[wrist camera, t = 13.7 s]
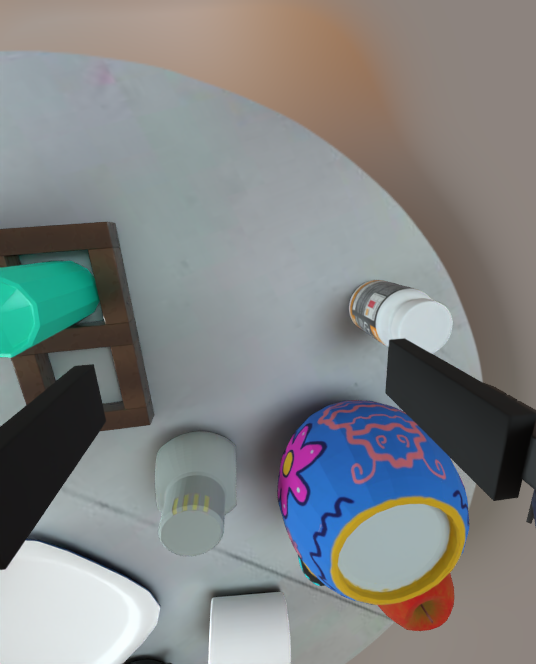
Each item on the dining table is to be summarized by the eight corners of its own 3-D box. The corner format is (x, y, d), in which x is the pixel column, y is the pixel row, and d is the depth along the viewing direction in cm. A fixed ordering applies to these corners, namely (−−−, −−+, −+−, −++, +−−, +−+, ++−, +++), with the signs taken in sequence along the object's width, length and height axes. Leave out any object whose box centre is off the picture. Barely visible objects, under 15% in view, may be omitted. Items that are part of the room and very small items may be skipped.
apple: (341, 562, 45) (373, 655, 35) (361, 502, 43) (402, 585, 32) (408, 565, 47) (457, 654, 37) (432, 507, 44) (492, 587, 34)
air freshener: (162, 421, 36) (137, 487, 26) (235, 418, 37) (237, 481, 27) (168, 498, 39) (148, 583, 29) (235, 494, 40) (237, 574, 30)
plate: (-100, 639, 40) (-114, 656, 39) (7, 508, 37) (-4, 521, 35) (80, 697, 47) (74, 713, 45) (184, 591, 44) (182, 605, 42)
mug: (212, 583, 44) (208, 655, 36) (282, 577, 45) (293, 646, 37) (211, 641, 47) (208, 719, 39) (277, 635, 48) (286, 709, 41)
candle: (36, 252, 29) (-87, 261, 18) (104, 268, 30) (28, 287, 19) (32, 313, 31) (-85, 357, 19) (96, 326, 32) (22, 376, 20)
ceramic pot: (265, 502, 41) (285, 644, 26) (271, 376, 36) (299, 468, 21) (393, 494, 43) (474, 622, 29) (415, 374, 38) (528, 457, 24)
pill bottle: (339, 322, 35) (380, 353, 25) (358, 272, 33) (409, 285, 24) (384, 335, 36) (440, 370, 26) (405, 287, 34) (471, 305, 25)
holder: (-15, 231, 28) (-33, 231, 26) (115, 222, 29) (107, 221, 27) (48, 428, 34) (37, 439, 33) (154, 415, 35) (150, 425, 34)
